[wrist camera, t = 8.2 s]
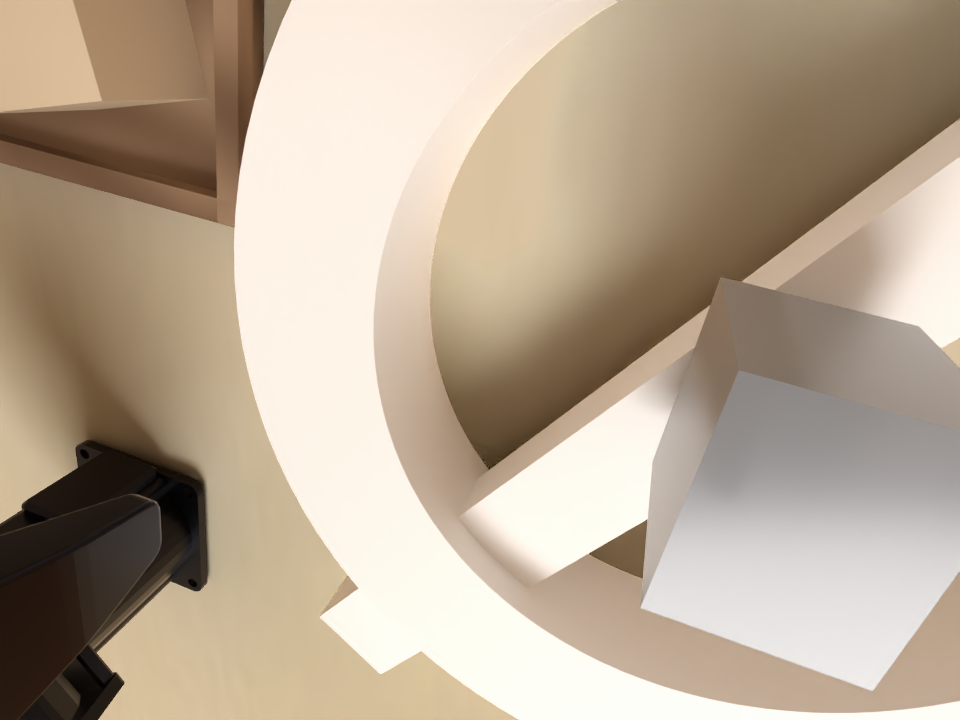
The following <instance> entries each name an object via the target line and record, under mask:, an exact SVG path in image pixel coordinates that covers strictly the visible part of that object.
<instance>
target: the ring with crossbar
mask: <svg viewBox="0 0 960 720" xmlns="http://www.w3.org/2000/svg"><path fill="white" fill-rule="evenodd" d="M618 1H619V0H292V1H291V3H290V5H289V7H288V10H287V12H286V14H285V16H284V18H283V20H282V23H281V26H280V28H279V31H278V33H277V36H276V39H275V41H274V44H273V46H272V49H271V52H270V54H269V57H268V59H267V62H266V66H265V69H264V72H263V75H262V78H261V82H260V85H259V88H258V91H257V95H256V98H255V101H254V106H253V110H252V114H251V118H250V122H249V126H248V131H247V135H246V139H245V145H244V151H243V157H242V163H241V168H240V174H239V183H238V192H237V202H236V211H235V235H234V267H235V288H236V300H237V312H238V319H239V326H240V332H241V339H242V345H243V350H244V355H245V360H246V364H247V369H248V374H249V378H250V381H251V385H252V389H253V392H254V396H255V399H256V403H257V406H258V409H259V412H260V415H261V418H262V421H263V424H264V427H265V430H266V433H267V435H268V437H269V440H270V442H271V445H272V447H273V450H274V452H275V455H276V457H277V460H278V462H279V464H280V466H281V468H282V470H283V472H284V474H285V476H286V479H287V481H288V483H289V485H290V487H291V489H292V490H293V492H294V494H295V496H296V498H297V500H298V501H299V503H300V505H301V507H302V509H303V511H304V512H305V514H306V515H307V517H308V519H309V520H310V522H311V524H312V525H313V527H314V528H315V530H316V532H317V533H318V535H319V536H320V538H321V539H322V541H323V542H324V543H325V545H326V546H327V548H328V549H329V551H330V552H331V554H332V555H333V556H334V558H335V559H336V560H337V562H338V563H339V564H340V566H341V567H342V568H343V569H344V571H345V572H346V573H347V575H348V576H347V577H346V579H345V580H344V581H343V583H342V584H341V586H340V587H339V589H338V590H337V592H336V593H335V595H334V596H333V598H332V599H331V600H330V602H329V603H328V605H327V606H326V608H325V609H324V611H323V612H322V614H321V615H320V618H321V619H322V620H323V621H324V622H326V623H327V624H328V625H329V626H330V627H331V628H332V629H333V630H334V631H335V632H336V633H337V634H338V635H339V636H340V637H341V638H343V639H344V640H345V641H346V642H347V643H348V644H349V645H350V646H351V647H352V648H353V649H354V650H355V651H356V652H357V653H358V654H360V655H361V656H362V657H363V658H364V659H365V660H366V661H367V662H368V663H369V664H370V665H371V666H372V667H373V668H374V669H375V670H377V671H378V672H379V673H380V674H382V673H384V672H386V671H387V670H389V669H391V668H393V667H394V666H396V665H398V664H399V663H401V662H403V661H405V660H406V659H408V658H410V657H412V656H413V655H415V654H417V653H418V652H420V651H422V652H423V653H424V654H425V655H427V656H428V657H429V658H430V659H431V660H433V661H434V662H435V663H436V664H438V665H439V666H440V667H441V668H443V669H444V670H445V671H447V672H448V673H449V674H450V675H452V676H453V677H454V678H456V679H457V680H459V681H460V682H461V683H463V684H464V685H466V686H467V687H468V688H470V689H471V690H473V691H474V692H475V693H477V694H478V695H480V696H481V697H483V698H485V699H486V700H488V701H489V702H491V703H492V704H494V705H495V706H497V707H498V708H500V709H502V710H503V711H505V712H507V713H509V714H510V715H512V716H514V717H515V718H517V719H519V720H960V572H959V573H958V574H957V576H956V577H955V578H954V580H953V581H952V583H951V584H950V585H949V587H948V588H947V589H946V591H945V592H944V594H943V595H942V596H941V598H940V599H939V600H938V602H937V603H936V605H935V606H934V607H933V609H932V610H931V612H930V613H929V614H928V616H927V617H926V618H925V620H924V621H923V623H922V624H921V625H920V627H919V628H918V629H917V631H916V632H915V634H914V635H913V636H912V638H911V639H910V640H909V642H908V643H907V645H906V646H905V647H904V649H903V650H902V652H901V653H900V654H899V656H898V657H897V658H896V660H895V661H894V663H893V664H892V665H891V667H890V668H889V669H888V671H887V672H886V674H885V675H884V676H883V678H882V679H881V680H880V682H879V683H878V685H877V686H876V687H875V689H874V690H873V691H871V690H868V689H865V688H862V687H859V686H857V685H854V684H851V683H848V682H846V681H843V680H840V679H837V678H834V677H832V676H829V675H826V674H823V673H820V672H818V671H815V670H812V669H809V668H807V667H804V666H801V665H798V664H795V663H793V662H790V661H787V660H784V659H781V658H779V657H776V656H773V655H770V654H768V653H765V652H762V651H759V650H756V649H754V648H751V647H748V646H745V645H742V644H740V643H737V642H734V641H731V640H729V639H726V638H723V637H720V636H717V635H715V634H712V633H709V632H706V631H703V630H701V629H698V628H695V627H692V626H690V625H687V624H684V623H681V622H678V621H676V620H673V619H670V618H667V617H664V616H662V615H659V614H656V613H653V612H651V611H648V610H645V609H642V608H640V606H641V594H642V582H643V578H640V577H637V576H634V575H632V574H629V573H627V572H625V571H622V570H620V569H617V568H615V567H613V566H611V565H609V564H607V563H605V562H603V561H601V560H599V559H596V558H595V557H593V556H591V555H589V553H590V552H592V551H594V550H595V549H597V548H599V547H601V546H602V545H604V544H606V543H607V542H609V541H611V540H613V539H614V538H616V537H618V536H620V535H621V534H623V533H625V532H626V531H628V530H630V529H632V528H633V527H635V526H637V525H638V524H640V523H642V522H644V521H645V520H647V519H648V509H649V497H650V485H651V473H652V461H653V459H654V456H655V453H656V450H657V448H658V445H659V442H660V440H661V437H662V434H663V432H664V429H665V426H666V424H667V421H668V418H669V415H670V413H671V410H672V407H673V405H674V402H675V399H676V397H677V394H678V391H679V388H680V386H681V383H682V380H683V378H684V375H685V372H686V370H687V367H688V364H689V361H690V359H691V356H692V353H693V351H694V348H695V345H696V343H697V340H698V337H699V334H700V332H701V329H702V326H703V324H704V321H705V318H706V316H707V313H708V310H709V307H710V305H709V306H708V307H707V308H705V309H704V310H703V311H701V312H700V313H699V314H697V315H696V316H695V317H693V318H692V319H691V320H689V321H688V322H687V323H685V324H684V325H683V326H681V327H680V328H679V329H677V330H676V331H675V332H673V333H672V334H671V335H669V336H668V337H667V338H665V339H664V340H662V341H661V342H660V343H658V344H657V345H656V346H654V347H653V348H652V349H650V350H649V351H648V352H646V353H645V354H644V355H642V356H641V357H640V358H638V359H637V360H636V361H634V362H633V363H632V364H630V365H629V366H628V367H626V368H625V369H624V370H622V371H621V372H620V373H618V374H617V375H616V376H614V377H613V378H612V379H610V380H609V381H608V382H606V383H605V384H604V385H602V386H601V387H600V388H598V389H597V390H596V391H594V392H593V393H592V394H590V395H589V396H588V397H586V398H585V399H584V400H582V401H581V402H580V403H578V404H577V405H575V406H574V407H573V408H571V409H570V410H569V411H567V412H566V413H565V414H563V415H562V416H561V417H559V418H558V419H557V420H555V421H554V422H553V423H551V424H550V425H549V426H547V427H546V428H545V429H543V430H542V431H541V432H539V433H538V434H537V435H535V436H534V437H533V438H531V439H530V440H529V441H527V442H526V443H525V444H523V445H522V446H521V447H519V448H518V449H517V450H515V451H514V452H513V453H511V454H510V455H509V456H507V457H506V458H505V459H503V460H502V461H501V462H499V463H498V464H497V465H495V466H494V467H493V468H491V469H490V470H489V469H488V468H487V467H486V465H485V464H484V462H483V461H482V460H481V458H480V457H479V455H478V454H477V452H476V451H475V449H474V448H473V446H472V444H471V443H470V441H469V439H468V438H467V436H466V434H465V433H464V431H463V429H462V427H461V425H460V423H459V421H458V419H457V417H456V415H455V412H454V410H453V408H452V405H451V403H450V401H449V398H448V395H447V393H446V390H445V387H444V384H443V381H442V377H441V374H440V370H439V367H438V362H437V358H436V353H435V349H434V342H433V335H432V327H431V315H430V282H431V269H432V261H433V253H434V247H435V242H436V237H437V232H438V228H439V225H440V221H441V217H442V214H443V210H444V207H445V204H446V201H447V199H448V196H449V193H450V190H451V188H452V185H453V183H454V181H455V178H456V176H457V174H458V171H459V169H460V167H461V165H462V163H463V161H464V159H465V157H466V155H467V153H468V151H469V149H470V148H471V146H472V144H473V143H474V141H475V139H476V138H477V136H478V134H479V133H480V131H481V129H482V128H483V126H484V125H485V123H486V122H487V121H488V119H489V118H490V116H491V115H492V113H493V112H494V110H495V109H496V108H497V106H498V105H499V104H500V103H501V101H502V100H503V99H504V98H505V96H506V95H507V94H508V93H509V91H510V90H511V89H512V88H513V87H514V86H515V85H516V84H517V82H518V81H519V80H520V79H521V78H522V77H523V76H524V75H525V74H526V73H527V72H528V70H529V69H530V68H531V67H533V66H534V65H535V64H536V63H537V62H538V61H539V60H540V59H541V58H542V57H543V56H544V55H545V54H546V53H547V52H548V51H549V50H551V49H552V48H553V47H554V46H555V45H557V44H558V43H559V42H560V41H562V40H563V39H564V38H565V37H566V36H568V35H569V34H570V33H571V32H573V31H574V30H575V29H577V28H578V27H580V26H581V25H582V24H584V23H585V22H587V21H588V20H589V19H591V18H592V17H594V16H595V15H597V14H598V13H600V12H602V11H603V10H605V9H606V8H608V7H610V6H611V5H613V4H614V3H616V2H618ZM741 282H744V283H748V284H752V285H756V286H760V287H764V288H768V289H772V290H776V291H780V292H784V293H788V294H792V295H796V296H800V297H804V298H808V299H812V300H816V301H820V302H824V303H828V304H832V305H836V306H840V307H844V308H848V309H852V310H856V311H860V312H864V313H868V314H872V315H876V316H880V317H884V318H888V319H892V320H896V321H900V322H904V323H908V324H912V325H916V326H919V327H920V328H921V329H922V330H923V331H924V332H925V333H926V334H927V335H928V336H929V337H930V338H931V339H932V340H933V341H934V342H935V343H936V344H937V345H938V346H939V347H940V348H943V347H944V346H946V345H948V344H950V343H951V342H953V341H955V340H956V339H958V338H960V119H958V120H957V121H956V122H954V123H953V124H952V125H950V126H949V127H948V128H946V129H945V130H944V131H942V132H941V133H940V134H938V135H937V136H936V137H934V138H933V139H932V140H930V141H929V142H928V143H926V144H925V145H923V146H922V147H921V148H919V149H918V150H917V151H915V152H914V153H913V154H911V155H910V156H909V157H907V158H906V159H905V160H903V161H902V162H901V163H899V164H898V165H897V166H895V167H894V168H893V169H891V170H890V171H889V172H887V173H886V174H885V175H883V176H882V177H881V178H879V179H878V180H877V181H875V182H874V183H873V184H871V185H870V186H869V187H867V188H866V189H865V190H863V191H862V192H861V193H859V194H858V195H857V196H855V197H854V198H853V199H851V200H850V201H849V202H847V203H846V204H845V205H843V206H842V207H841V208H839V209H838V210H836V211H835V212H834V213H832V214H831V215H830V216H828V217H827V218H826V219H824V220H823V221H822V222H820V223H819V224H818V225H816V226H815V227H814V228H812V229H811V230H810V231H808V232H807V233H806V234H804V235H803V236H802V237H800V238H799V239H798V240H796V241H795V242H794V243H792V244H791V245H790V246H788V247H787V248H786V249H784V250H783V251H782V252H780V253H779V254H778V255H776V256H775V257H774V258H772V259H771V260H770V261H768V262H767V263H766V264H764V265H763V266H762V267H760V268H759V269H758V270H756V271H755V272H754V273H752V274H751V275H749V276H748V277H747V278H745V279H744V280H743V281H741Z"/></svg>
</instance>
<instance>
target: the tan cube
mask: <svg viewBox="0 0 960 720" xmlns="http://www.w3.org/2000/svg"><path fill="white" fill-rule="evenodd" d="M199 99H208V97H207V93H206V88H205V84H204V80H203V75H202V71H201V67H200V62H199V58H198V53H197V49H196V45H195V40H194V36H193V32H192V27H191V23H190V18H189V14H188V10H187V5H186V1H185V0H0V113H23V112H49V111H75V110H99V109H109V108H119V107H129V106H139V105H149V104H159V103H169V102H179V101H189V100H199Z"/></svg>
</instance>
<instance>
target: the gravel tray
mask: <svg viewBox="0 0 960 720" xmlns="http://www.w3.org/2000/svg"><path fill="white" fill-rule="evenodd" d="M185 1H186V5H187V10H188V14H189V18H190V23H191V27H192V32H193V36H194V40H195V45H196V49H197V53H198V58H199V62H200V67H201V71H202V75H203V80H204V84H205V88H206V93H207V97H208V99H199V100H189V101H179V102H169V103H159V104H149V105H139V106H129V107H119V108H109V109H99V110H75V111H49V112H23V113H0V163H4V164H7V165H11V166H15V167H18V168H22V169H25V170H29V171H33V172H36V173H40V174H43V175H47V176H51V177H54V178H58V179H62V180H65V181H69V182H72V183H76V184H80V185H83V186H87V187H90V188H94V189H98V190H101V191H105V192H108V193H112V194H116V195H119V196H123V197H126V198H130V199H134V200H137V201H141V202H144V203H148V204H152V205H155V206H159V207H163V208H166V209H170V210H173V211H177V212H181V213H184V214H188V215H191V216H195V217H199V218H202V219H206V220H209V221H213V222H217V223H220V224H224V225H227V226H231V227H235V211H236V202H237V192H238V183H239V174H240V168H241V163H242V157H243V151H244V145H245V139H246V135H247V131H248V126H249V122H250V118H251V114H252V110H253V106H254V101H255V98H256V95H257V91H258V88H259V85H260V82H261V78H262V75H263V6H264V0H185Z"/></svg>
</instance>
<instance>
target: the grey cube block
mask: <svg viewBox="0 0 960 720" xmlns="http://www.w3.org/2000/svg"><path fill="white" fill-rule="evenodd" d="M959 572H960V368H959V367H958V366H957V365H956V364H955V363H954V362H953V361H952V360H951V359H950V358H949V357H948V356H947V355H946V353H945V352H944V351H943V350H942V349H941V348H940V347H939V346H938V345H937V344H936V343H935V342H934V341H933V340H932V339H931V338H930V337H929V336H928V335H927V334H926V333H925V332H924V331H923V330H922V329H921V328H920V327H919V326H916V325H912V324H908V323H904V322H900V321H896V320H892V319H888V318H884V317H880V316H876V315H872V314H868V313H864V312H860V311H856V310H852V309H848V308H844V307H840V306H836V305H832V304H828V303H824V302H820V301H816V300H812V299H808V298H804V297H800V296H796V295H792V294H788V293H784V292H780V291H776V290H772V289H768V288H764V287H760V286H756V285H752V284H748V283H744V282H740V281H736V280H732V279H728V278H724V277H721V278H720V280H719V283H718V286H717V289H716V291H715V294H714V297H713V299H712V302H711V305H710V307H709V310H708V313H707V316H706V318H705V321H704V324H703V326H702V329H701V332H700V334H699V337H698V340H697V343H696V345H695V348H694V351H693V353H692V356H691V359H690V361H689V364H688V367H687V370H686V372H685V375H684V378H683V380H682V383H681V386H680V388H679V391H678V394H677V397H676V399H675V402H674V405H673V407H672V410H671V413H670V415H669V418H668V421H667V424H666V426H665V429H664V432H663V434H662V437H661V440H660V442H659V445H658V448H657V450H656V453H655V456H654V459H653V461H652V473H651V485H650V497H649V509H648V521H647V533H646V545H645V557H644V569H643V582H642V594H641V606H640V608H642V609H645V610H648V611H651V612H653V613H656V614H659V615H662V616H664V617H667V618H670V619H673V620H676V621H678V622H681V623H684V624H687V625H690V626H692V627H695V628H698V629H701V630H703V631H706V632H709V633H712V634H715V635H717V636H720V637H723V638H726V639H729V640H731V641H734V642H737V643H740V644H742V645H745V646H748V647H751V648H754V649H756V650H759V651H762V652H765V653H768V654H770V655H773V656H776V657H779V658H781V659H784V660H787V661H790V662H793V663H795V664H798V665H801V666H804V667H807V668H809V669H812V670H815V671H818V672H820V673H823V674H826V675H829V676H832V677H834V678H837V679H840V680H843V681H846V682H848V683H851V684H854V685H857V686H859V687H862V688H865V689H868V690H871V691H873V690H874V689H875V687H876V686H877V685H878V683H879V682H880V680H881V679H882V678H883V676H884V675H885V674H886V672H887V671H888V669H889V668H890V667H891V665H892V664H893V663H894V661H895V660H896V658H897V657H898V656H899V654H900V653H901V652H902V650H903V649H904V647H905V646H906V645H907V643H908V642H909V640H910V639H911V638H912V636H913V635H914V634H915V632H916V631H917V629H918V628H919V627H920V625H921V624H922V623H923V621H924V620H925V618H926V617H927V616H928V614H929V613H930V612H931V610H932V609H933V607H934V606H935V605H936V603H937V602H938V600H939V599H940V598H941V596H942V595H943V594H944V592H945V591H946V589H947V588H948V587H949V585H950V584H951V583H952V581H953V580H954V578H955V577H956V576H957V574H958V573H959Z"/></svg>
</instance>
